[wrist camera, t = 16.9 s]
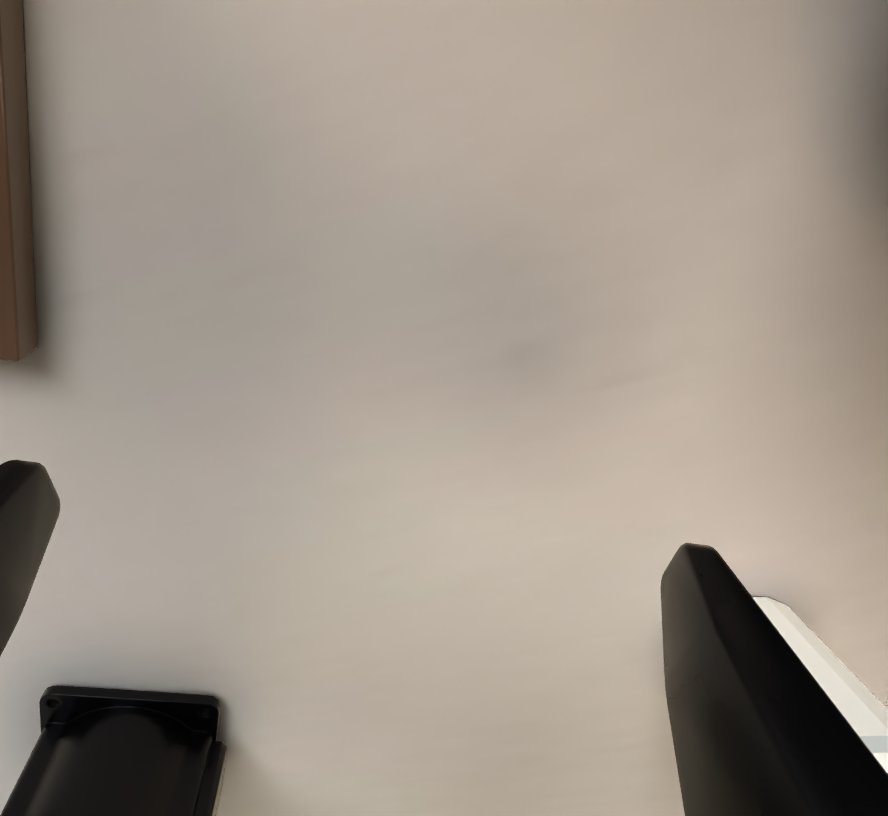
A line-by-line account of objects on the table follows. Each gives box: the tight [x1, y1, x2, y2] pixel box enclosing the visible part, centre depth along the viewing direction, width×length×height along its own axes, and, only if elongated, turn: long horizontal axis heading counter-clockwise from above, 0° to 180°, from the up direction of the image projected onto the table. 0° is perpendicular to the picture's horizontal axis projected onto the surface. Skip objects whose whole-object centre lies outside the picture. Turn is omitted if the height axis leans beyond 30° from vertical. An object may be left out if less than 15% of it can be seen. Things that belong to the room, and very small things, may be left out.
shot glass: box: [753, 597, 888, 773], centre depth 25 cm, size 7×7×7 cm
